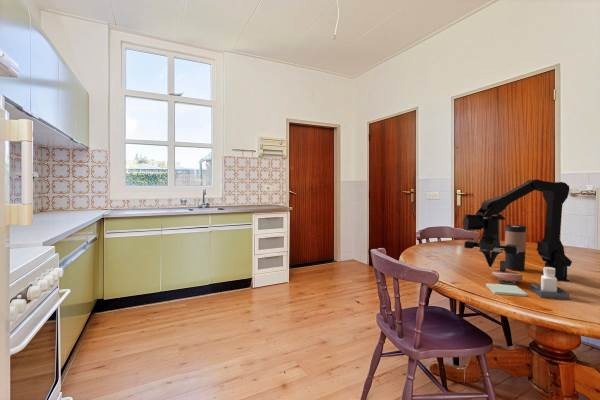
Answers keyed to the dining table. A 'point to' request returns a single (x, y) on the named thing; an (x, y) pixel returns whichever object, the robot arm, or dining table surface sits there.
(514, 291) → the board
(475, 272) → the dining table surface
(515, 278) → the handwheel
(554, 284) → the pepper shaker
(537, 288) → the dark grey square frame
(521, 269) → the travel mug
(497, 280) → the wheel post
